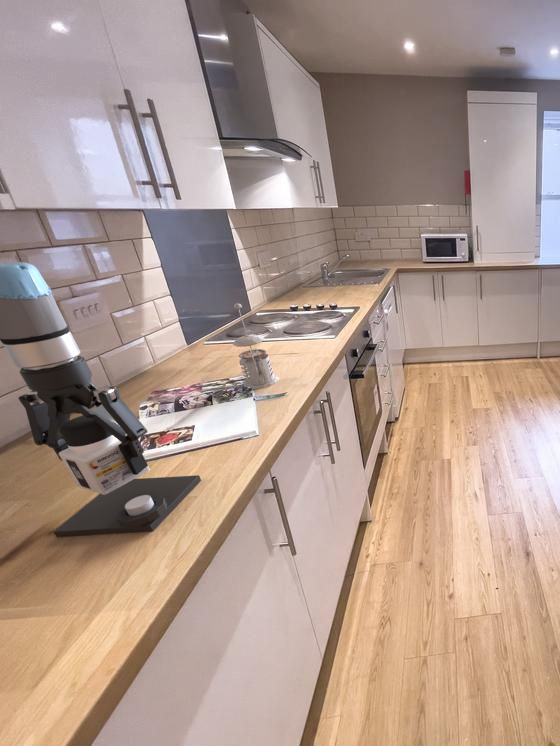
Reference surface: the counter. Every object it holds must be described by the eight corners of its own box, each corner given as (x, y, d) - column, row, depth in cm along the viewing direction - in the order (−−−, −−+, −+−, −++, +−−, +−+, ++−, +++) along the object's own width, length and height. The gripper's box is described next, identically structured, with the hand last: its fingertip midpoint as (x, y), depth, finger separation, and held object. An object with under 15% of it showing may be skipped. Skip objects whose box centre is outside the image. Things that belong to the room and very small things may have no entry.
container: (104, 496, 73) (69, 434, 67) (77, 487, 75) (41, 427, 69) (151, 470, 79) (122, 412, 74) (124, 463, 82) (95, 406, 76)
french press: (274, 373, 134) (252, 297, 123) (283, 384, 126) (261, 304, 115) (240, 381, 128) (214, 303, 117) (247, 394, 120) (220, 311, 109)
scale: (55, 538, 71) (46, 525, 69) (120, 485, 84) (113, 473, 82) (153, 532, 72) (146, 519, 70) (202, 480, 85) (197, 468, 83)
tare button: (123, 517, 72) (119, 509, 71) (138, 503, 75) (134, 495, 74) (145, 515, 72) (141, 508, 71) (159, 501, 75) (155, 494, 74)
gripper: (140, 350, 71) (186, 456, 80) (2, 355, 69) (66, 463, 79) (104, 367, 64) (160, 481, 74) (-50, 373, 63) (28, 488, 72)
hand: (111, 471), depth 76 cm, fingers closed on container, 10 cm apart
